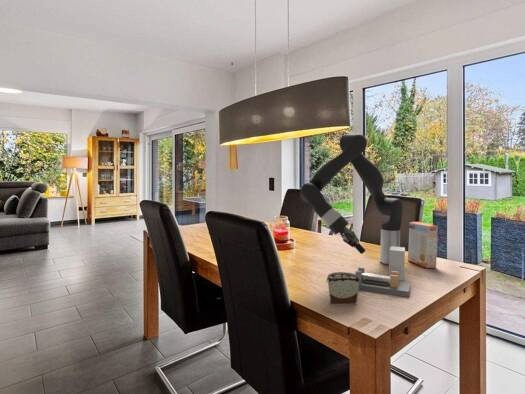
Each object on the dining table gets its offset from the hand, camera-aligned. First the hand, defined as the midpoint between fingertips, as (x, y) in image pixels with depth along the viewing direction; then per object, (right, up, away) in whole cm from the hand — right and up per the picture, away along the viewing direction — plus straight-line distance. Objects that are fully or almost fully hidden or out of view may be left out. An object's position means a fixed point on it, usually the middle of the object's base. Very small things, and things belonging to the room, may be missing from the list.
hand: (363, 252), depth 138 cm
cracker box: (+39, -12, +31) cm, 51 cm away
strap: (-1, -10, +1) cm, 10 cm away
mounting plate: (+4, -14, -1) cm, 15 cm away
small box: (+18, -13, +11) cm, 25 cm away
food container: (-13, -15, -16) cm, 26 cm away
